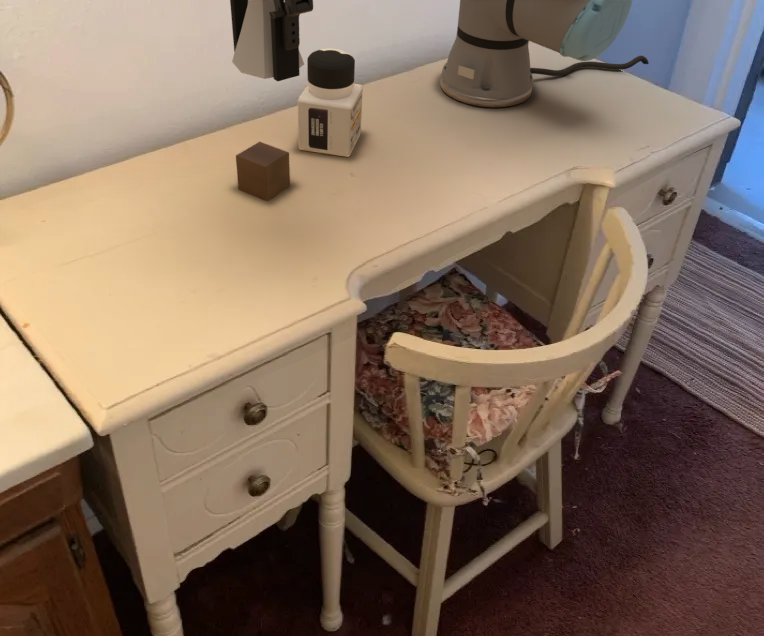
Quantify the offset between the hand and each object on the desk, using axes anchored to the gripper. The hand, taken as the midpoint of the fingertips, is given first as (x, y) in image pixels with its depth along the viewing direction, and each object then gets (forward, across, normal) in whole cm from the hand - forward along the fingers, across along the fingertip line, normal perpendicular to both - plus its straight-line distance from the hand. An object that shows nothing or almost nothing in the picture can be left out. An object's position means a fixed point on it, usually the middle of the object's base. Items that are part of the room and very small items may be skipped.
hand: (266, 63), depth 88 cm
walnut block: (+22, -12, +6) cm, 26 cm away
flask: (0, 0, 0) cm, 1 cm away
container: (+23, -18, +21) cm, 35 cm away
